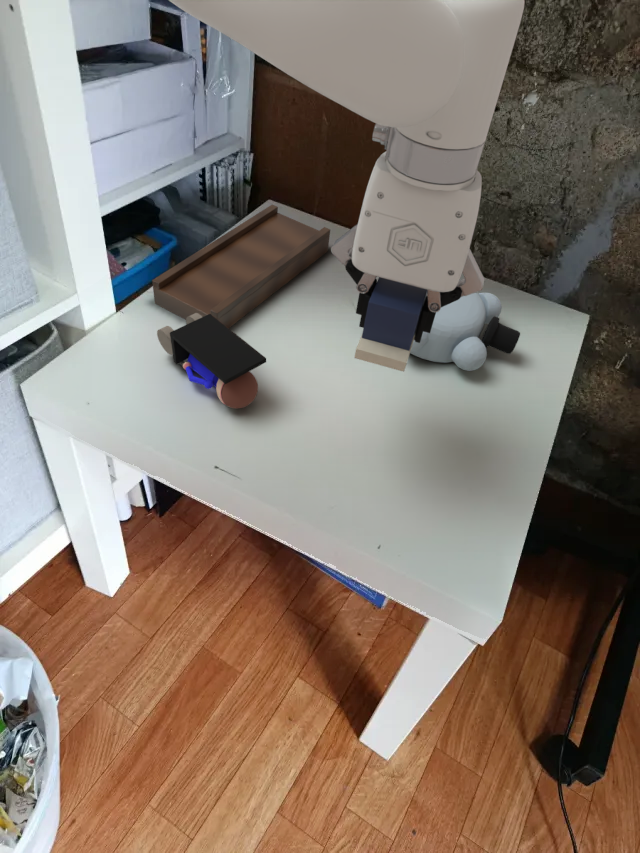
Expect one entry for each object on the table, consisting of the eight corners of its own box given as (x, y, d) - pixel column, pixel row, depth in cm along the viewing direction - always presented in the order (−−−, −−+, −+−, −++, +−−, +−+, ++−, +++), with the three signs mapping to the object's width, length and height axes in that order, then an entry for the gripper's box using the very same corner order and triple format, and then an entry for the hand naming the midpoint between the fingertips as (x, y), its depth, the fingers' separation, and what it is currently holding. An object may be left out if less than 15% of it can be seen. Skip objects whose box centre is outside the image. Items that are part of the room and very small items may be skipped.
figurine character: (158, 368, 84) (228, 425, 76) (148, 319, 78) (223, 375, 71) (200, 348, 87) (271, 401, 79) (193, 300, 82) (269, 351, 74)
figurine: (352, 349, 87) (490, 407, 85) (368, 300, 81) (517, 361, 79) (389, 283, 99) (511, 333, 97) (405, 236, 92) (536, 288, 90)
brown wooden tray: (217, 337, 87) (217, 313, 84) (154, 303, 90) (151, 280, 87) (327, 251, 104) (330, 229, 101) (271, 226, 107) (272, 204, 104)
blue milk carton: (404, 372, 61) (416, 326, 57) (354, 358, 62) (363, 312, 58) (425, 303, 70) (437, 259, 66) (381, 291, 70) (390, 247, 66)
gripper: (322, 146, 51) (302, 326, 64) (534, 197, 49) (468, 372, 62) (346, 113, 56) (323, 286, 69) (539, 157, 54) (477, 327, 67)
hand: (392, 325), depth 65 cm, fingers closed on blue milk carton, 5 cm apart
